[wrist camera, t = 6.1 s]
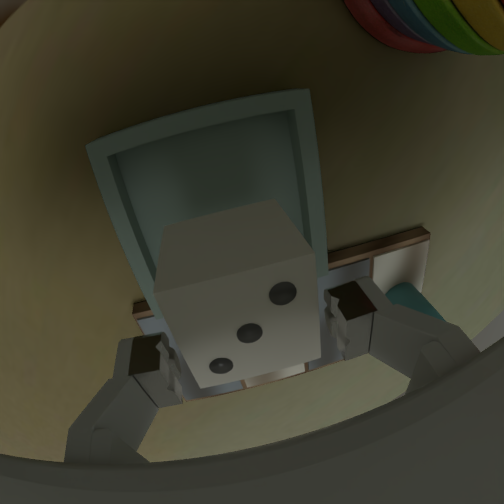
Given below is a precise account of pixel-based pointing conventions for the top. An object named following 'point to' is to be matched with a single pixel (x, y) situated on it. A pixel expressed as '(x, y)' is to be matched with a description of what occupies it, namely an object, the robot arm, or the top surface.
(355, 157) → the top surface
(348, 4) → the stacking bear
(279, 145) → the tray
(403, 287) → the pawn
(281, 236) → the die
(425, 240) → the board
